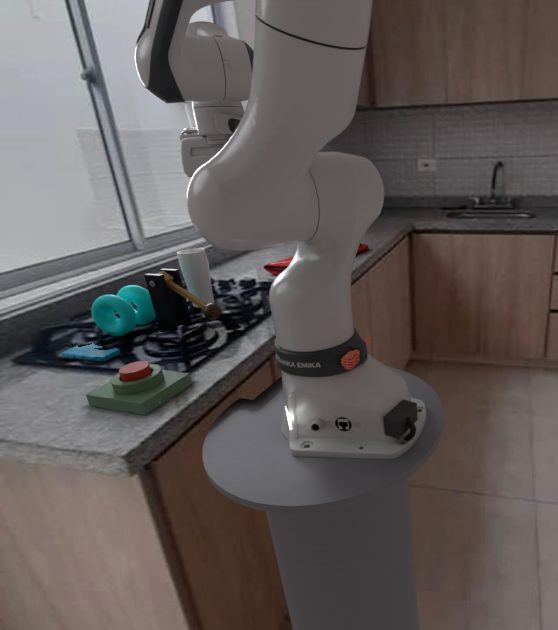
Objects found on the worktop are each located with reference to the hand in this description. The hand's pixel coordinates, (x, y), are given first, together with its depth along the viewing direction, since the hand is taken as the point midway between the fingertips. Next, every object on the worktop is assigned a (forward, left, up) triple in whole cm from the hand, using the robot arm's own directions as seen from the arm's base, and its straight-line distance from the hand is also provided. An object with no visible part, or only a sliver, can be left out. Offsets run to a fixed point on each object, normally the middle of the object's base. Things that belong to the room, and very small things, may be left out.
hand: (236, 199), depth 89 cm
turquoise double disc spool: (+33, +5, -29) cm, 44 cm away
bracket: (+19, +5, -29) cm, 35 cm away
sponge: (+29, +18, -29) cm, 45 cm away
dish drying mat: (+19, -61, -29) cm, 71 cm away
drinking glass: (+28, -13, -29) cm, 43 cm away
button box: (+4, +28, -29) cm, 41 cm away
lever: (+14, +5, -21) cm, 26 cm away
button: (+4, +28, -25) cm, 38 cm away
